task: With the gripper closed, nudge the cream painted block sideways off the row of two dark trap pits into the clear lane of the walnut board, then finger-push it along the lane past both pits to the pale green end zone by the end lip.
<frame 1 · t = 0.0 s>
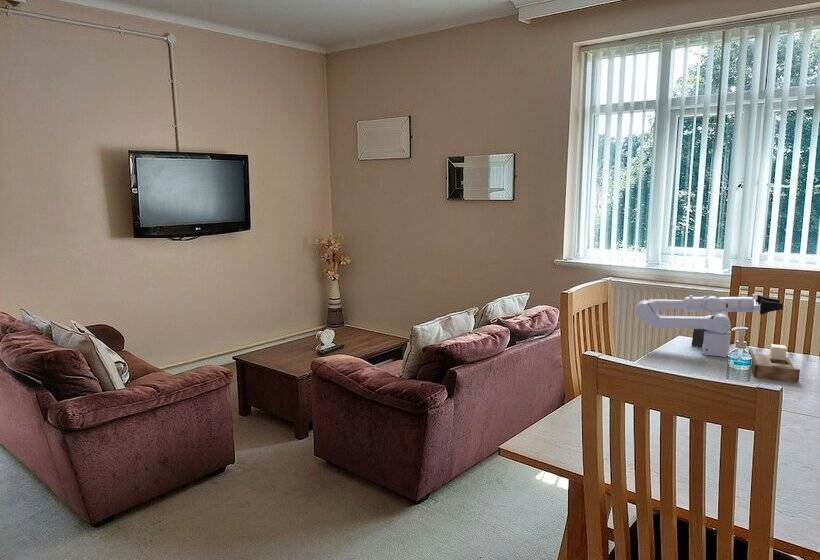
hand: (781, 304, 214), 22 cm above the table, tool horizontal, fingers open, 7 cm apart
trap board: (771, 369, 207), on the table
cream block: (777, 357, 214), point 2 cm above the table, touching trap board
phone stand: (700, 345, 239), on the table
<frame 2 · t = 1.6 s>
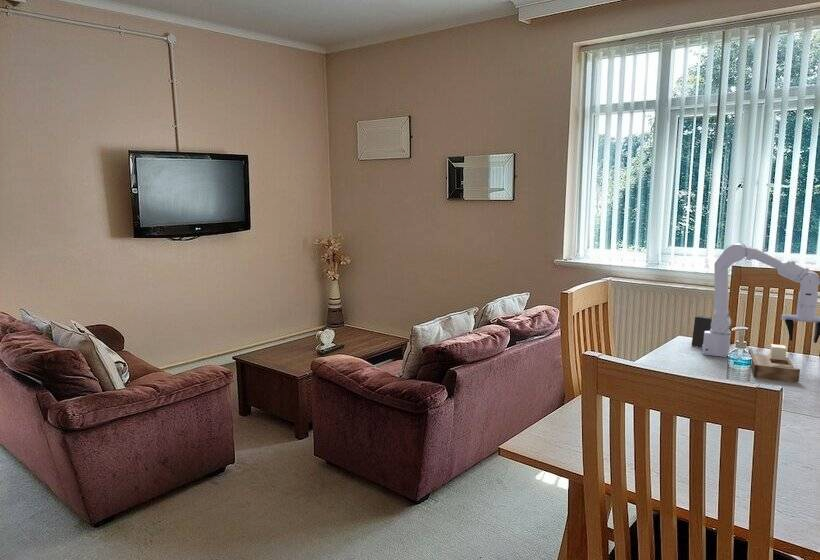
hand: (802, 341, 209), 9 cm above the table, tool pointing down, fingers open, 7 cm apart
nothing on the table moved.
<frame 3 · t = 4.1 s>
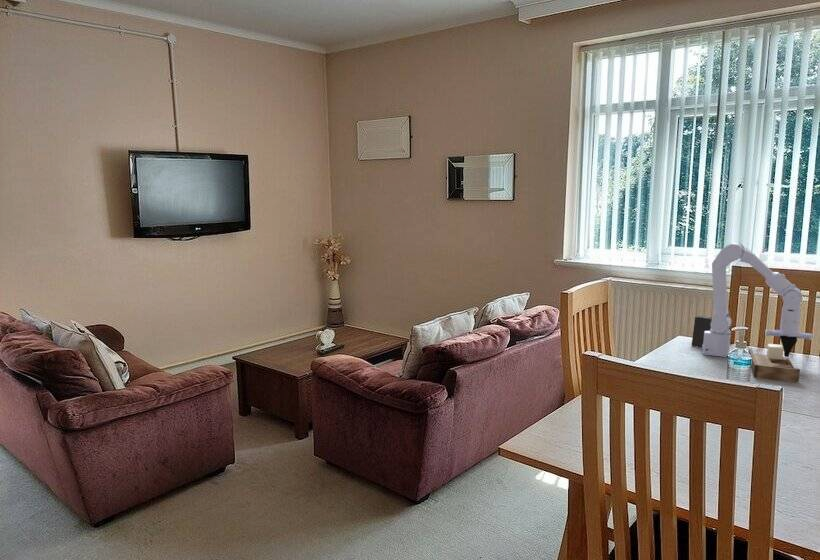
hand: (786, 356, 212), 3 cm above the table, tool pointing down, fingers closed
cream block: (774, 357, 214), point 2 cm above the table, touching gripper, trap board
everything else where it was.
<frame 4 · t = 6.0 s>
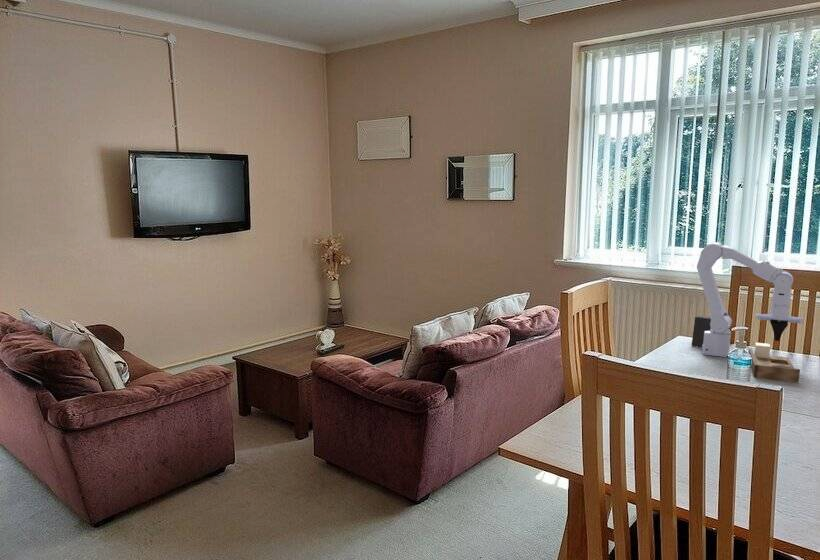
hand: (776, 340, 213), 9 cm above the table, tool pointing down, fingers closed
cream block: (761, 356, 216), point 2 cm above the table, touching trap board
everything else where it was.
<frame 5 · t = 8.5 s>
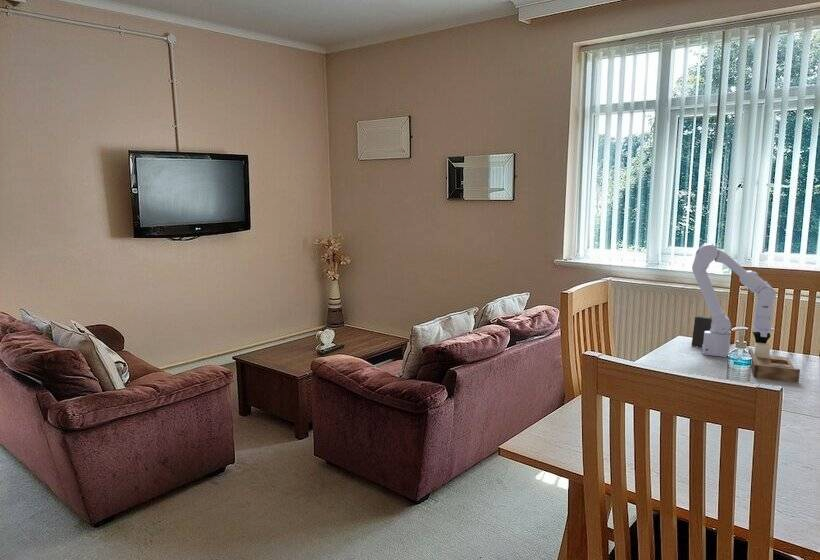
hand: (759, 351, 219), 3 cm above the table, tool pointing down, fingers closed
cream block: (761, 356, 216), point 2 cm above the table, touching gripper, trap board
everything else where it was.
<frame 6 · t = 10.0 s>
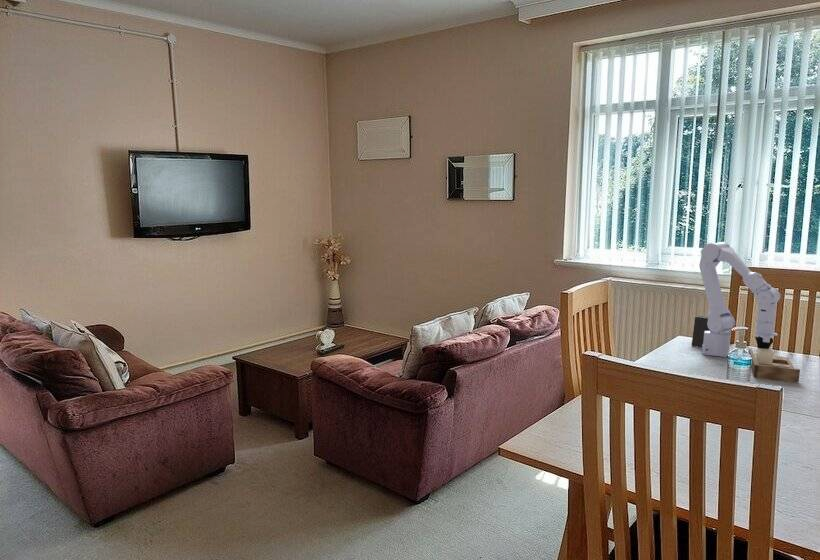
hand: (762, 356, 212), 3 cm above the table, tool pointing down, fingers closed
cream block: (764, 362, 209), point 2 cm above the table, touching gripper
everything else where it was.
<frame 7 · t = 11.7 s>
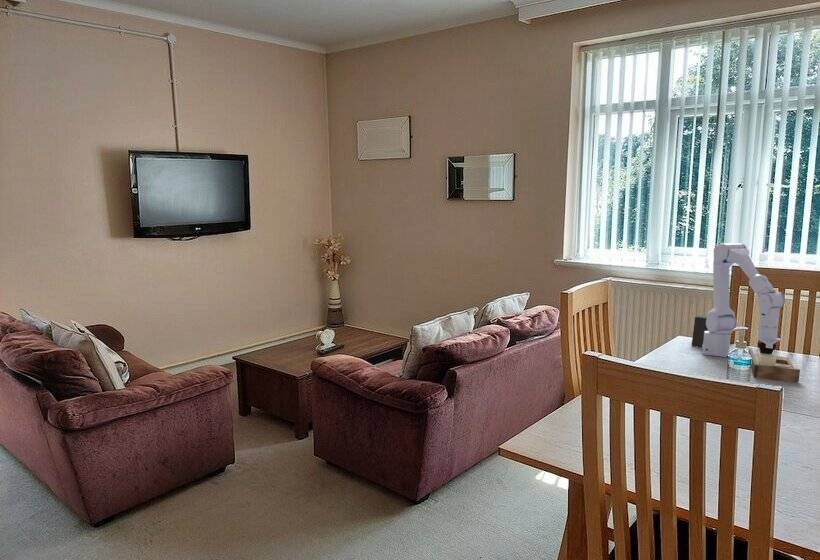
hand: (764, 362, 204), 3 cm above the table, tool pointing down, fingers closed, pressing on cream block
cream block: (766, 367, 202), point 2 cm above the table, touching gripper, trap board
everything else where it was.
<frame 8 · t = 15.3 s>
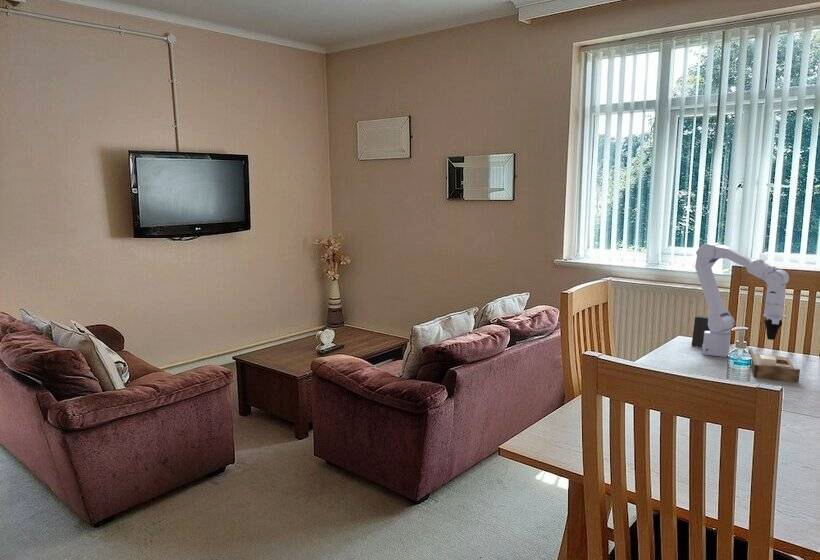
hand: (770, 339, 210), 10 cm above the table, tool pointing down, fingers closed
cream block: (766, 369, 200), point 2 cm above the table, touching trap board
everything else where it was.
at the end: cream block 0.8 cm from the target spot, point 2.0 cm above the table; cream block tilted 1° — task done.
